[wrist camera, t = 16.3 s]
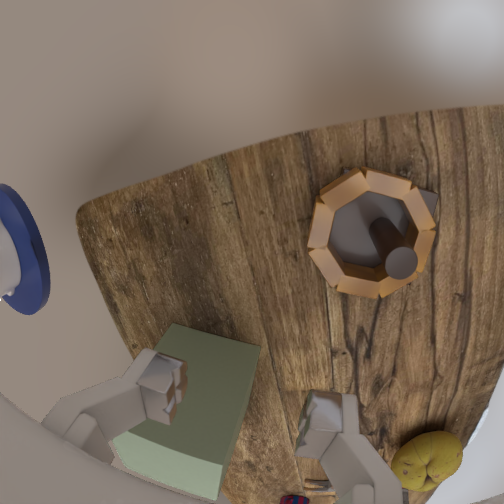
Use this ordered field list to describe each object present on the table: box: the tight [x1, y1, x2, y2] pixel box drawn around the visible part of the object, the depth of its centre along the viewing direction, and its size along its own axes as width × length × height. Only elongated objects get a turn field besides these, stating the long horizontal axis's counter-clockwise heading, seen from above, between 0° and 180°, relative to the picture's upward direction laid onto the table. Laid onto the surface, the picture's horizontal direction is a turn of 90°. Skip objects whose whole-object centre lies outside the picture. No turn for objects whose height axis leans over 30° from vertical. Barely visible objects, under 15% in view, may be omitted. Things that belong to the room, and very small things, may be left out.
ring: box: [307, 166, 436, 299], centre depth 23 cm, size 10×10×3 cm
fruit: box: [391, 431, 463, 492], centre depth 30 cm, size 11×12×10 cm
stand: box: [329, 167, 439, 285], centre depth 22 cm, size 9×9×8 cm
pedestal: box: [112, 323, 261, 500], centre depth 29 cm, size 11×11×16 cm
